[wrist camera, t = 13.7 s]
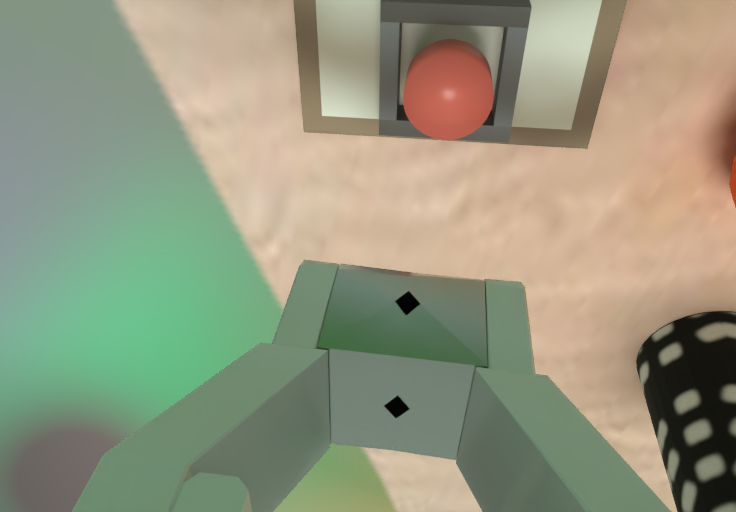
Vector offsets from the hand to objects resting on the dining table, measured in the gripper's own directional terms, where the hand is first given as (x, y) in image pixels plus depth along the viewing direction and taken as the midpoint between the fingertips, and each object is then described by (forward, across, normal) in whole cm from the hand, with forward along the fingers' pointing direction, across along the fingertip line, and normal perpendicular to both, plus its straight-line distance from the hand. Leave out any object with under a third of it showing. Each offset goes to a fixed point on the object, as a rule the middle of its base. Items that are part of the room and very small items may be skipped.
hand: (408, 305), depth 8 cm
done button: (+18, -1, +4) cm, 19 cm away
